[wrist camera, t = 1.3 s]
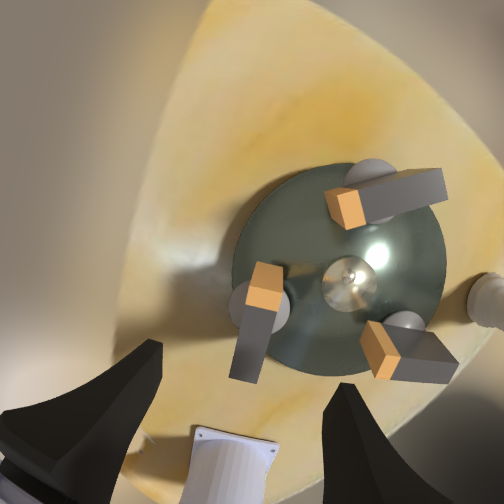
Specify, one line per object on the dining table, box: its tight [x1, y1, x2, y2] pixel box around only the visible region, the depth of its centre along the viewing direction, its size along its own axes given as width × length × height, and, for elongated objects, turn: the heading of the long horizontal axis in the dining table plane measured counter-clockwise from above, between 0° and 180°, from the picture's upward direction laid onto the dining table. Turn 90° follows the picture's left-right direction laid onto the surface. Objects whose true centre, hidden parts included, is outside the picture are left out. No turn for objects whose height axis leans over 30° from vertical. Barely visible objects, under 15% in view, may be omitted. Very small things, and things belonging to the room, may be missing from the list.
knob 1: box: [228, 261, 290, 384], centre depth 17 cm, size 6×4×5 cm
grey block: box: [359, 310, 459, 384], centre depth 17 cm, size 6×4×5 cm
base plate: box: [232, 163, 447, 376], centre depth 19 cm, size 15×15×2 cm
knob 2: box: [324, 159, 448, 230], centre depth 15 cm, size 6×4×5 cm
